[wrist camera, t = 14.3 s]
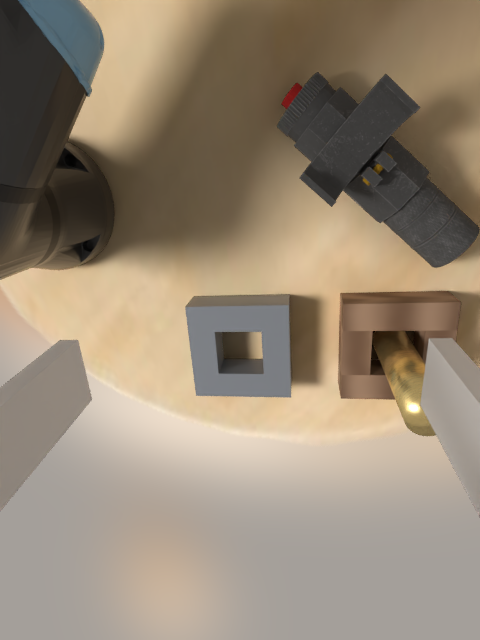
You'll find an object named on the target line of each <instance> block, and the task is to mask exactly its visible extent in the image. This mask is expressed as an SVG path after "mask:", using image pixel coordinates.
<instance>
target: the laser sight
mask: <svg viewBox="0 0 480 640" xmlns="http://www.w3.org/2000/svg"><path fill="white" fill-rule="evenodd" d="M328 83H329V82H328V81H327V80H326V79H325V78H324V77H323V76H321V75H320V74H319V73H318V72H317V73H315V74H314V75H313V76H312V77H311V79H310V80H309V81H308V82H307V83H306V84H305V86H304V87H302V86H300V85H299V84H298V83H296V84H295V85H294V86H293V87H292V88H291V90H290V91H289V92H288V94H287V95H286V97H285V98H284V100H283V102H282V105H283V106H284V107H285V108H286V109H287V110H286V111H285V113H284V114H283V116H282V117H281V119H280V121H279V123H278V125H277V127H278V128H279V129H280V130H281V131H282V132H283V133H284V134H285V135H286V136H289V137H290V138H291V139H292V140H294V141H295V142H296V144H295V145H294V146H295V147H296V148H297V149H298V150H299V151H300V152H301V153H302V154H304V155H305V156H306V157H307V158H308V159H309V160H310V161H311V164H310V165H309V166H308V167H307V168H306V170H305V171H304V172H303V174H302V175H301V177H300V179H301V180H302V181H303V182H304V183H306V184H307V185H308V186H309V187H310V188H311V189H312V190H313V191H314V192H316V193H317V194H318V195H319V196H320V197H321V198H322V199H323V200H325V201H326V202H327V203H328V204H329V205H330V206H331V207H332V206H333V205H334V204H335V203H336V199H337V198H338V196H339V195H340V193H341V192H342V191H344V192H345V193H346V194H348V195H349V196H350V197H351V198H352V199H353V200H354V201H355V202H356V203H358V204H359V205H360V206H361V207H362V208H363V209H364V210H365V211H366V212H367V213H369V214H370V215H371V216H372V217H373V218H374V219H375V220H376V221H378V222H379V223H381V222H382V221H383V222H384V223H385V224H386V225H387V226H389V227H390V228H391V229H392V230H393V231H394V232H395V233H396V234H397V235H398V236H400V237H401V238H402V239H403V240H404V241H405V242H406V243H407V244H408V245H409V246H410V247H411V248H412V249H414V250H415V251H416V252H417V253H418V254H419V255H420V256H422V257H423V258H424V259H425V260H426V261H427V262H428V263H429V264H430V265H431V266H432V267H441V266H444V265H446V264H448V263H450V262H452V261H453V260H455V259H456V258H457V257H459V256H460V255H461V254H462V253H464V252H465V251H466V250H467V249H468V248H469V247H470V246H471V244H472V243H473V242H474V241H475V239H476V238H477V236H478V234H479V227H478V226H477V225H476V224H475V223H474V222H473V221H472V220H471V219H470V218H469V217H467V216H466V215H465V214H464V213H463V212H462V211H461V210H460V209H459V208H458V207H457V206H456V205H455V204H454V203H453V202H452V201H451V200H450V199H448V198H447V197H446V196H445V195H444V194H443V193H442V192H441V191H440V190H439V189H438V188H437V187H436V186H435V185H434V184H433V183H432V182H431V181H430V180H428V179H427V178H426V177H427V175H428V174H429V171H428V170H427V169H426V168H425V167H424V166H423V165H422V164H421V163H420V162H419V161H417V160H416V159H415V158H414V157H413V156H412V155H411V154H410V153H409V152H408V151H407V150H406V149H405V148H404V147H403V146H402V145H401V144H400V143H399V142H398V141H396V140H395V139H394V138H393V137H392V136H391V135H392V134H393V133H394V132H395V131H396V130H397V129H398V127H399V126H400V125H401V124H403V123H404V122H405V121H406V120H407V119H408V118H409V117H410V116H411V115H412V114H414V113H416V112H417V110H418V109H419V108H420V107H419V106H418V105H417V104H416V103H415V102H414V101H413V100H412V99H411V98H410V97H409V96H408V95H407V94H406V93H405V92H404V91H403V90H402V89H401V88H400V87H399V86H398V85H397V84H396V83H395V82H394V81H393V80H392V79H391V78H390V77H389V76H388V75H387V74H385V75H384V76H383V77H382V78H381V79H380V80H379V82H378V83H377V84H376V85H375V86H374V87H373V88H372V90H371V91H370V92H369V93H368V94H367V96H366V97H365V98H364V99H363V100H362V102H361V103H360V104H358V103H357V102H356V101H355V100H353V99H352V98H351V97H350V96H349V95H348V94H347V93H346V92H345V91H344V90H343V89H342V88H341V87H340V88H339V89H338V90H337V91H335V90H334V89H333V88H332V87H331V86H330V85H329V84H328Z"/></svg>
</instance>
